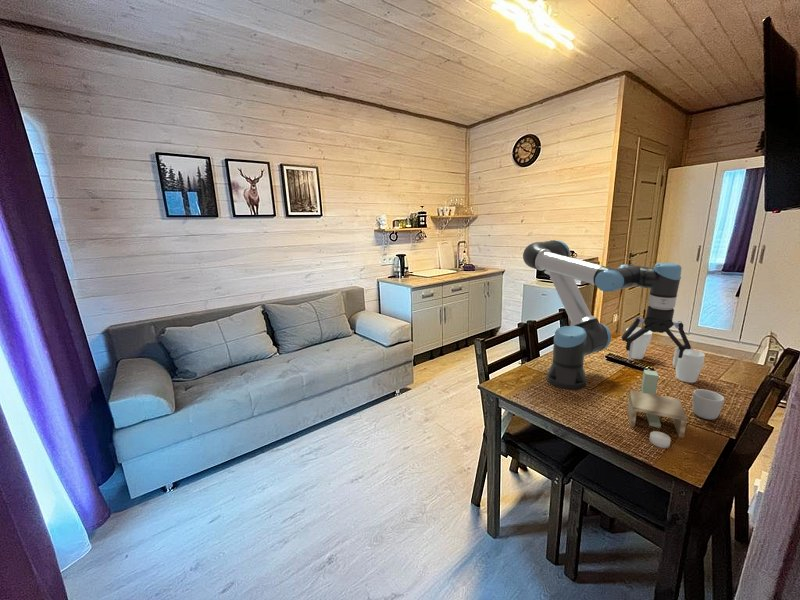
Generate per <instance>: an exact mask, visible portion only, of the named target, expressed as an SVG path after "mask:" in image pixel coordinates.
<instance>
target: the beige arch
mask: <svg viewBox="0 0 800 600" xmlns="http://www.w3.org/2000/svg"><path fill="white" fill-rule="evenodd" d="M626 409H627V414H628V419H629V426H630V427H632V428H635V426H636V421H637V420H636V419H637V412H640V413H645V414H646V413H649V414H654V415H658V416H659V417H666V418H670V419H672V422H673V425H674V427H675V431H676V433H677V436H678V437H679V438H685V432H686V428H687V427H686V426H687V421H688V416H687V414H686V411H685V409H684V406H683V405H682V402H681V399H680V398H677V397H669V396H663V395H658V394H656V395H654V394H648V393H642V392H641V391H635V390H632V389H631V390H629V394H628V401H627V407H626Z"/></svg>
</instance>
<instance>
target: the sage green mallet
mask: <svg viewBox="0 0 800 600" xmlns="http://www.w3.org/2000/svg"><path fill="white" fill-rule="evenodd" d="M658 381H659V374H658V371H657V370H656V371H655V370H648V369H643V374H642V381H641V388H640V392H642V393H648V394H654V395H657V389H658V383H659V382H658ZM645 415H646V419H647V422H648V426H650V427H655V428H660V429H661V426H662V424H661V419H660V416H659V415H654V414H649V413H645Z"/></svg>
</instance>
